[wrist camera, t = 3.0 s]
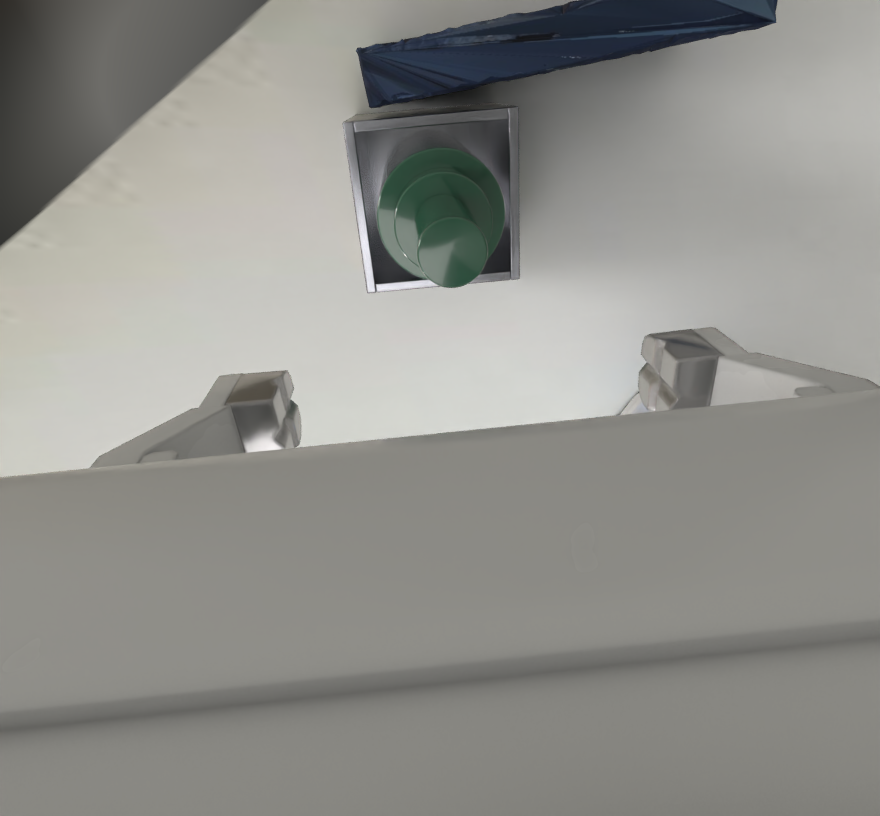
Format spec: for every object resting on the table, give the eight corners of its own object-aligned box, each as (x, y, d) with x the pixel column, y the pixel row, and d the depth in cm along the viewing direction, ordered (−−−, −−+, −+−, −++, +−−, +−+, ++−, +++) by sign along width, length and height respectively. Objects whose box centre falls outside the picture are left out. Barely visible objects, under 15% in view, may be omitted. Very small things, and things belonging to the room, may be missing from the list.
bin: (493, 102, 34) (518, 106, 27) (496, 242, 38) (520, 279, 31) (355, 114, 34) (342, 121, 27) (373, 254, 38) (367, 293, 31)
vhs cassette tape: (375, 104, 34) (366, 109, 25) (364, 46, 32) (350, 31, 24) (679, 50, 33) (777, 36, 25) (682, -12, 32) (787, -49, 23)
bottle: (475, 126, 34) (534, 156, 19) (479, 227, 37) (534, 323, 22) (377, 135, 34) (358, 172, 19) (389, 236, 37) (381, 337, 22)
